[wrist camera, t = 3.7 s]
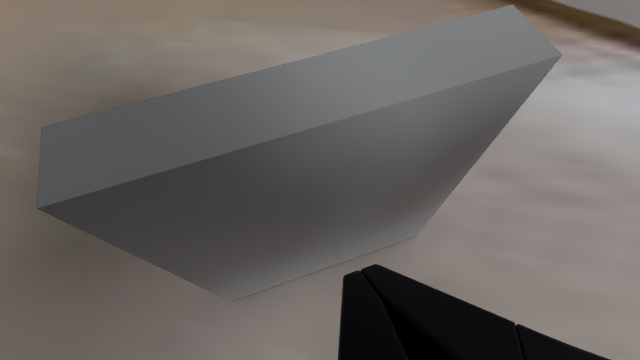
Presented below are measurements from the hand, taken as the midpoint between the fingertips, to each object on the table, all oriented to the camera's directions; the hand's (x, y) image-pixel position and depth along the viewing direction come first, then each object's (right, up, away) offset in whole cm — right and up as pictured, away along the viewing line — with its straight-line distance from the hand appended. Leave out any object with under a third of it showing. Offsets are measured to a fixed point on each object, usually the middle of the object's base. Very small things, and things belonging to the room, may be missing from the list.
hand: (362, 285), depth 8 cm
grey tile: (-1, -1, +9) cm, 9 cm away
